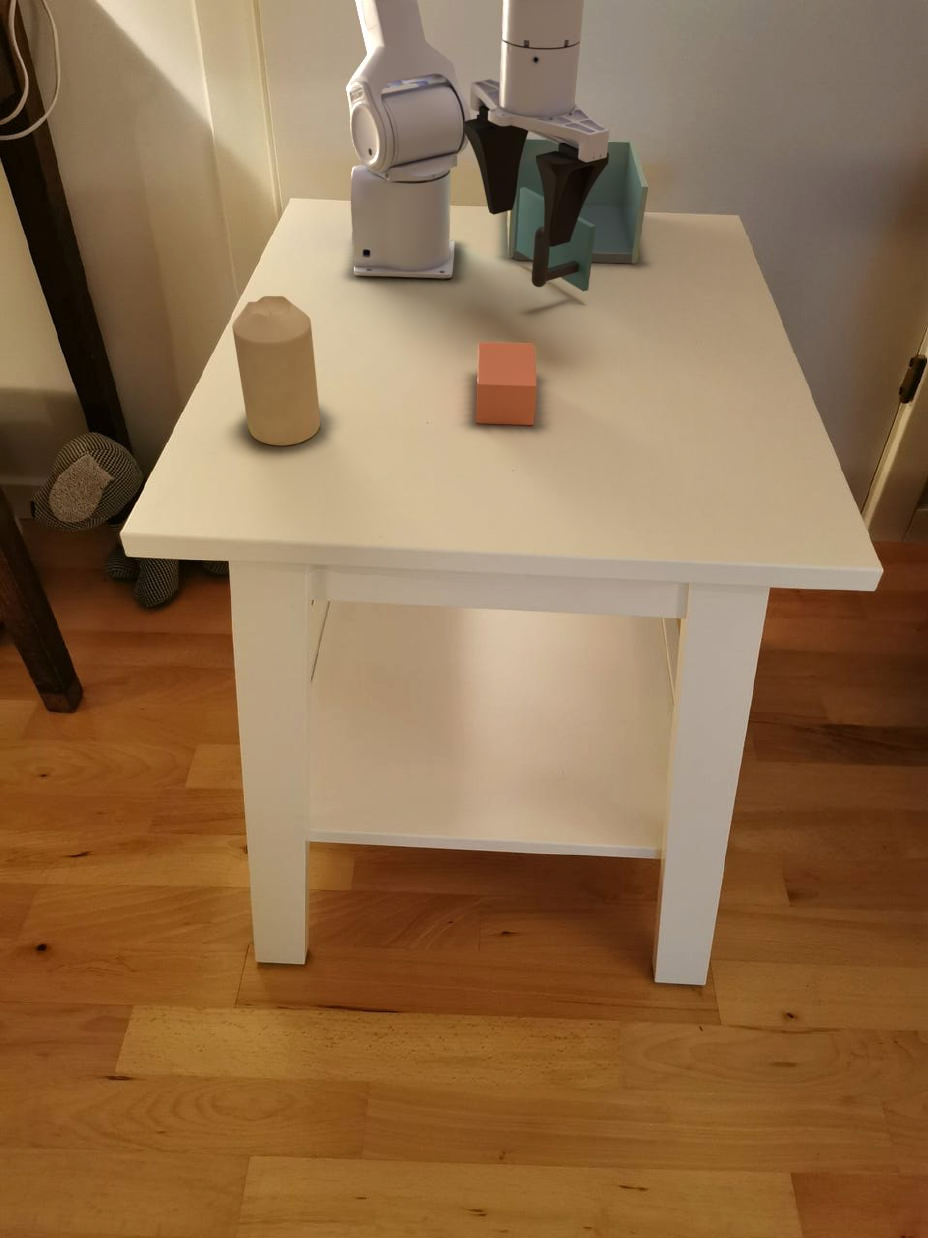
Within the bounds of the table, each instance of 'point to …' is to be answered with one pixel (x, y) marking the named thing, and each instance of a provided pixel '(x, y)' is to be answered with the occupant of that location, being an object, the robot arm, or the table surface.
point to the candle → (277, 371)
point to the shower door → (558, 260)
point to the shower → (595, 200)
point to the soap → (506, 383)
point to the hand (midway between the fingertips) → (528, 226)
